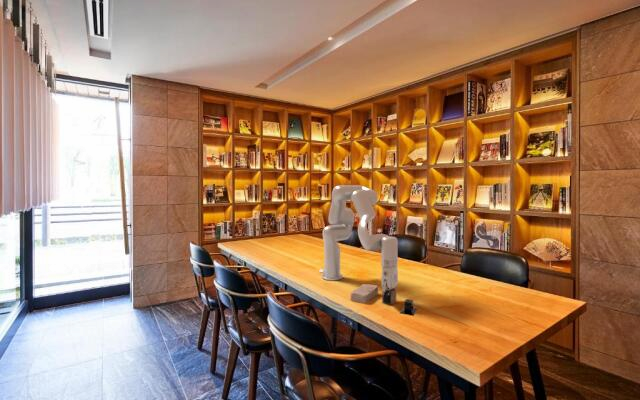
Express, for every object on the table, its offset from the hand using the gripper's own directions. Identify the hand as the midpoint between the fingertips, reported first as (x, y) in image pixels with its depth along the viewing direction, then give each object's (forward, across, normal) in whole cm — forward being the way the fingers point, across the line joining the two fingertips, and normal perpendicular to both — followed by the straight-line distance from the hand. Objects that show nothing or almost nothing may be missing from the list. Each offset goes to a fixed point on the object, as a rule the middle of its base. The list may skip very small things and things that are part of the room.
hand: (389, 300), depth 155 cm
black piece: (+2, -5, -11) cm, 12 cm away
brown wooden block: (+1, 0, 0) cm, 1 cm away
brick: (+2, 0, +13) cm, 13 cm away
